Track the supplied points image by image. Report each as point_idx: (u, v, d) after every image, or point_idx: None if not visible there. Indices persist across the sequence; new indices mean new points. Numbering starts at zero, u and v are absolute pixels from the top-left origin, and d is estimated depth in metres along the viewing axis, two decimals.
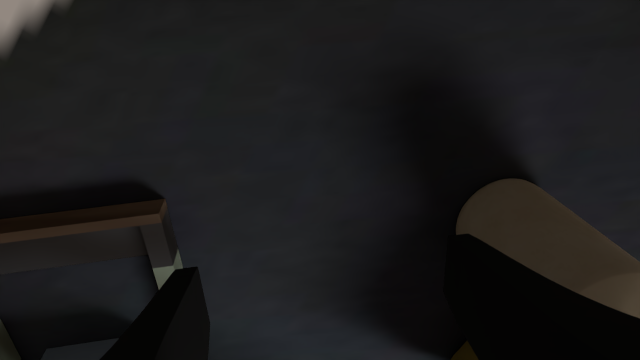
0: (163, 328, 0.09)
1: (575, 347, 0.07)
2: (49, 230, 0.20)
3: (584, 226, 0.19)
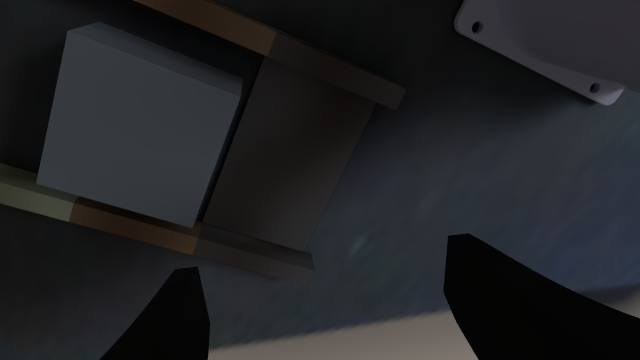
0: (163, 328, 0.09)
1: (575, 347, 0.07)
2: None
3: None
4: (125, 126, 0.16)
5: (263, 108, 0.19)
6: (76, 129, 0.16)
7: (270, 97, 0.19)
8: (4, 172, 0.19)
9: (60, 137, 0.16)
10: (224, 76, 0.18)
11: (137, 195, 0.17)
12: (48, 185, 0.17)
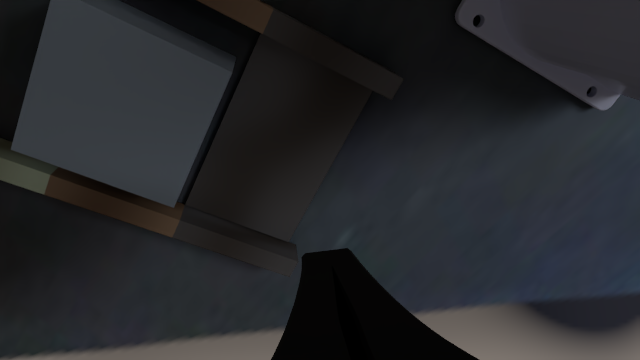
0: (332, 305, 0.09)
1: None
2: None
3: None
4: (109, 94, 0.15)
5: (255, 89, 0.19)
6: (56, 94, 0.15)
7: (263, 79, 0.19)
8: None
9: (39, 102, 0.15)
10: (217, 52, 0.17)
11: (118, 169, 0.16)
12: (23, 152, 0.16)
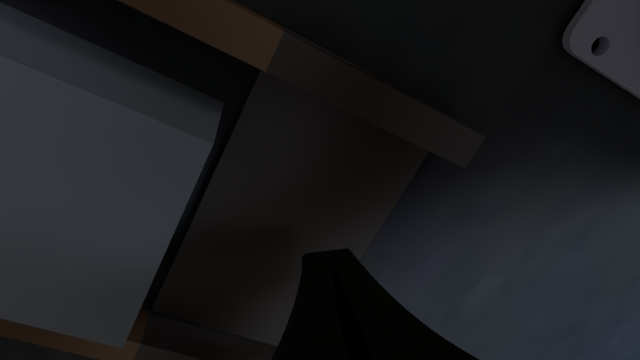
0: (332, 305, 0.09)
1: None
2: None
3: None
4: None
5: (254, 150, 0.12)
6: None
7: (266, 135, 0.12)
8: None
9: None
10: (191, 99, 0.11)
11: (25, 298, 0.10)
12: None
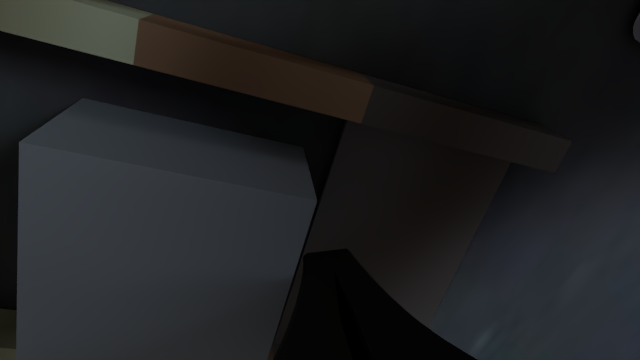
0: (333, 305, 0.09)
1: None
2: None
3: None
4: (139, 270, 0.10)
5: (349, 188, 0.13)
6: (62, 286, 0.10)
7: (359, 173, 0.13)
8: None
9: (39, 301, 0.10)
10: (278, 155, 0.12)
11: None
12: None
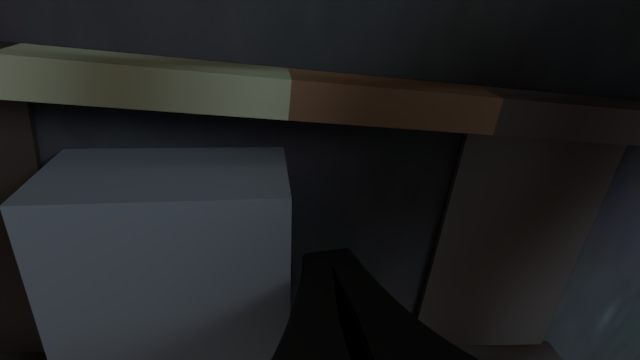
0: (332, 305, 0.09)
1: None
2: None
3: None
4: (143, 299, 0.10)
5: (474, 193, 0.14)
6: (78, 327, 0.10)
7: (482, 177, 0.14)
8: None
9: (63, 344, 0.11)
10: (256, 160, 0.12)
11: None
12: None
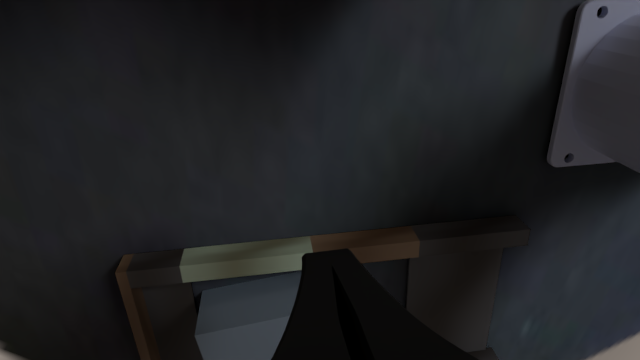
0: (332, 305, 0.09)
1: None
2: (141, 348, 0.23)
3: None
4: None
5: (421, 276, 0.25)
6: None
7: (424, 268, 0.25)
8: None
9: None
10: (298, 283, 0.23)
11: None
12: None
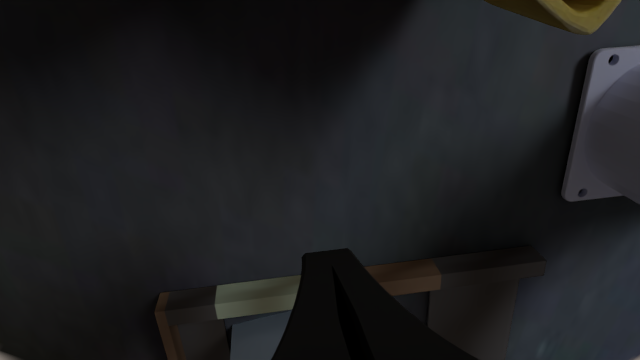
0: (332, 305, 0.09)
1: None
2: None
3: None
4: None
5: (441, 305, 0.26)
6: None
7: (444, 297, 0.26)
8: None
9: None
10: None
11: None
12: None
